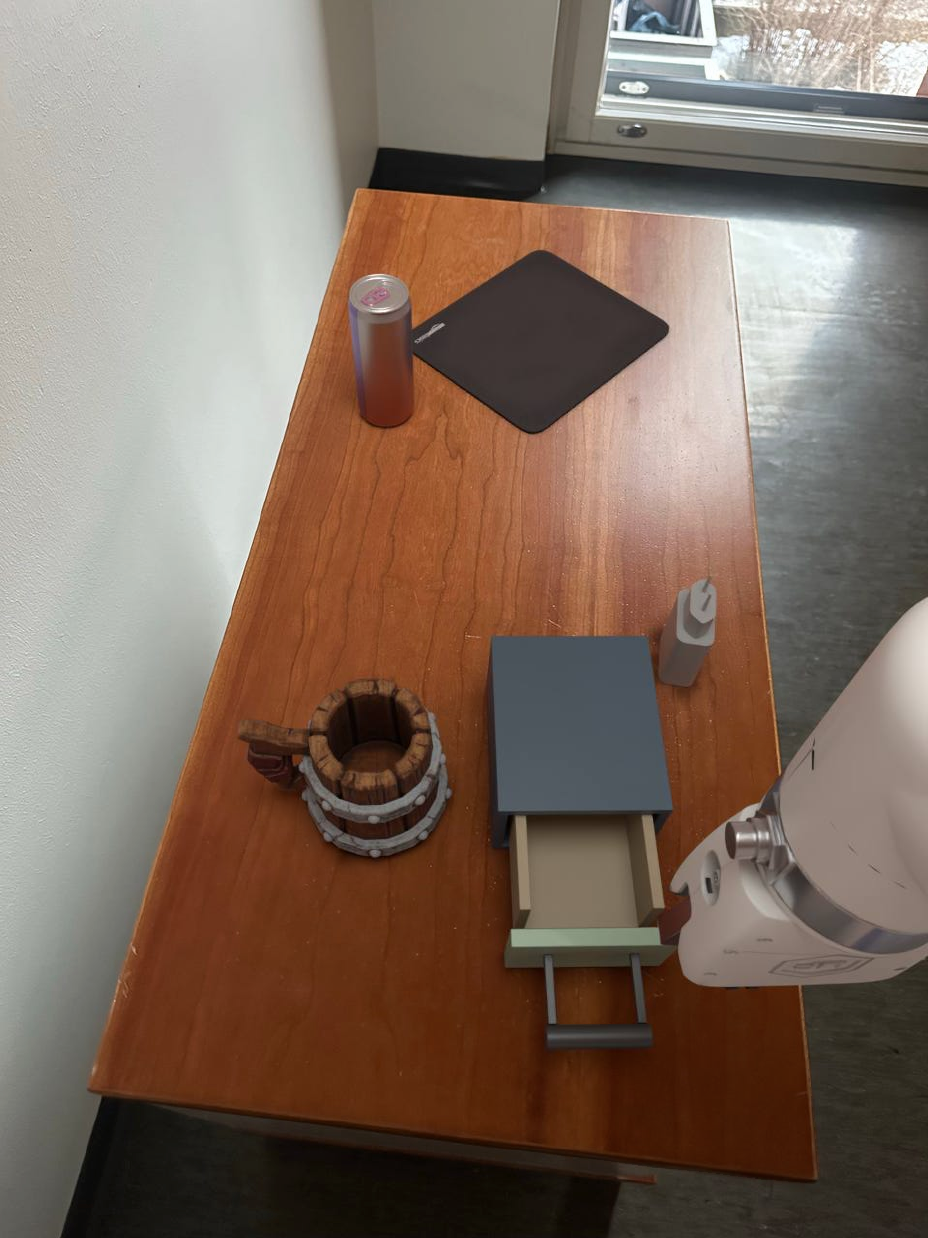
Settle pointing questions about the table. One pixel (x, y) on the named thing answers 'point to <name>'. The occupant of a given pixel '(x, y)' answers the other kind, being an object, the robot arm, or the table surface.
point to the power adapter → (688, 634)
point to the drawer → (586, 910)
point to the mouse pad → (536, 339)
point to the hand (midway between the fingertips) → (734, 959)
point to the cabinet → (573, 729)
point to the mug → (360, 766)
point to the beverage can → (382, 348)
